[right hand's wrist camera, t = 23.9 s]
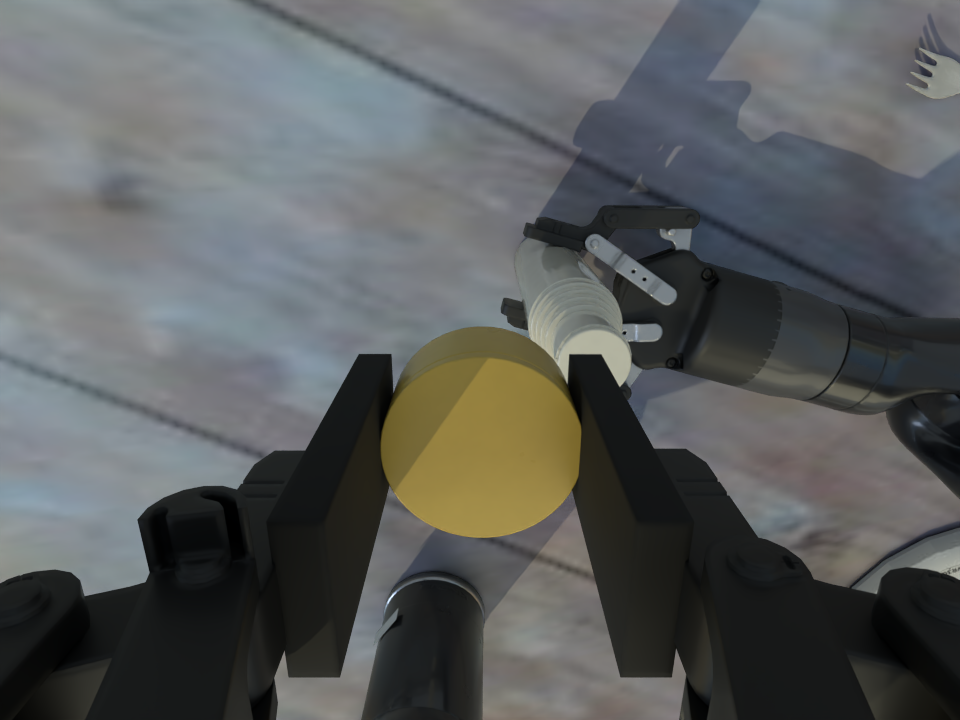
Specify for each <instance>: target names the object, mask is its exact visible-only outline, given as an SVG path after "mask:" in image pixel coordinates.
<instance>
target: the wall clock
mask: <svg viewBox="0 0 960 720" xmlns="http://www.w3.org/2000/svg"><path fill="white" fill-rule="evenodd" d="M903 567H911V568H921V569H929V570H933V571H938V572H939V573H944V574H947V575H950V576H953V577H955V578H957V579H959V580H960V528H956V529H953V530H950V531H947V532H943V533H940V534H937V535H934V536H931V537H927V538H925V539H923V540H921V541H919V542H917V543H916V544H914V545H912V546H910V547H908V548H906V549H904V550H903V551H901V552H899V553H897V554H895V555H893V556H891V557H890V558H888V559H886V560H884V561H883V562H882V563H881V564H879V565H878V566H877V567H876V568H875V569H873V570H872V571H871V572H870V573H869V574H867V575H866V576H865V577H864V578H863V579H861V580H860V581H859V582H858V583H857V584H855V585H854V586H853V587H852V588H851V589H856V590H861V591H866V592H870V593H875V594H877V591H878V587H879V584H880V580H881V577H883V576H884V575H885V574H886V573H887V572H888V571H889V570H892V569H898V568H903Z"/></svg>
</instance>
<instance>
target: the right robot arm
mask: <svg viewBox="0 0 960 720" xmlns="http://www.w3.org/2000/svg"><path fill="white" fill-rule="evenodd" d="M567 385H568V388H569V391H570V394H571V396H572V399H573V402H574V405H575V408H576V411H577V414H578V417H579V420H580V423H581V445H580V461H579V475H578V479H577V481H576V483H575V485H574V487H573V489H572V492H573V495H574V499H575V503H576V507H577V511H578V515H579V519H580V523H581V526H582V530H583V534H584V538H585V542H586V546H587V550H588V553H589V557H590V561H591V565H592V569H593V573H594V577H595V580H596V584H597V588H598V592H599V596H600V600H601V604H602V608H603V611H604V615H605V619H606V623H607V627H608V631H609V635H610V638H611V642H612V646H613V650H614V654H615V658H616V662H617V665H618V669H619V673H620V677H672V672H673V665H674V658H675V652H676V649H677V651H678V654H679V657H680V659H681V662H682V664H683V667H684V670H685V672H686V680H685V686H684V693H683V699H682V705H681V712H680V718H679V720H960V580H959V579H957V578H955V577H953V576H950V575H947V574H944V573H939V572H938V571H933V570H929V569H921V568H911V567H903V568H898V569H892V570H889V571H888V572H887V573H886V574H885V575H884V576H883V577H881V580H880V584H879V587H878V591H877V594H875V593H870V592H866V591H861V590H856V589H851V588H847V587H842V586H837V585H832V584H829V583H825V582H821V581H818V580H814V579H813V577H812V575H811V572H810V571H809V570H808V568H807V567H806V565H805V564H804V563H803V561H802V560H801V559H800V558H799V557H797V556H796V555H794V554H793V553H792V552H790V551H789V550H788V549H786V548H785V547H782V546H780V545H778V544H775V543H773V542H771V541H769V540H766V539H762V538H758V537H757V535H756V534H755V532H754V531H753V529H752V528H751V527H750V525H749V524H748V522H747V521H746V519H745V518H744V516H743V515H742V514H741V512H740V511H739V509H738V508H737V506H736V505H735V503H734V502H733V500H732V499H731V498H730V496H727V492H726V490H725V489H724V487H723V486H722V485H721V483H720V482H718V481H717V477H716V476H715V474H714V473H713V472H712V470H711V469H710V467H709V466H708V464H707V463H706V462H705V461H703V460H702V459H700V458H699V457H697V456H696V455H694V454H693V453H691V452H690V451H688V450H687V449H654V448H653V446H652V444H651V443H650V441H649V439H648V437H647V435H646V434H645V432H644V430H643V428H642V426H641V425H640V423H639V421H638V419H637V417H636V416H635V414H634V412H633V410H632V408H631V407H630V405H629V403H628V401H627V399H626V398H625V396H624V394H623V392H622V390H621V389H620V387H619V385H618V383H617V381H616V380H615V378H614V376H613V374H612V372H611V370H610V369H609V367H608V365H607V363H606V361H605V360H604V358H603V356H602V354H569V365H568V383H567ZM392 397H393V376H392V357H391V354H359V355H358V357H357V359H356V360H355V362H354V364H353V366H352V368H351V369H350V371H349V373H348V375H347V377H346V378H345V380H344V382H343V384H342V386H341V387H340V389H339V391H338V393H337V395H336V396H335V398H334V400H333V402H332V404H331V406H330V407H329V409H328V411H327V413H326V415H325V416H324V418H323V420H322V422H321V424H320V425H319V427H318V429H317V431H316V433H315V434H314V436H313V438H312V440H311V442H310V443H309V445H308V447H307V449H306V451H274V452H272V453H271V454H269V455H268V456H266V457H265V458H263V459H262V460H260V461H259V462H258V463H256V464H255V465H254V466H253V467H252V469H251V470H250V472H249V473H248V475H247V476H246V478H245V479H244V481H243V484H241V485H240V486H239V488H238V489H237V490H236V489H232V488H228V487H225V486H202V487H197V488H192V489H187V490H183V491H180V492H177V493H175V494H172V495H170V496H167V497H164V498H163V499H161V500H159V501H158V502H156V503H155V504H153V505H152V506H150V507H148V508H147V509H146V510H145V512H144V513H143V514H142V515H141V516H140V517H139V518H138V524H139V528H140V533H141V537H142V541H143V546H144V550H145V554H146V559H147V563H148V567H149V571H150V573H149V576H148V578H147V580H146V582H145V583H141V584H138V585H134V586H131V587H126V588H122V589H117V590H112V591H107V592H103V593H98V594H93V595H89V596H84V593H83V589H82V586H81V582H80V580H79V579H78V578H77V577H76V576H74V575H73V574H72V573H71V572H65V571H60V570H46V571H37V572H31V573H27V574H23V575H21V576H20V575H19V576H16V577H13V578H10V579H8V580H6V581H4V582H2V583H0V720H276V715H277V706H278V701H277V693H276V686H275V680H274V677H275V674H276V671H277V669H278V666H279V663H280V661H281V658H282V655H283V653H284V650H285V656H286V662H287V669H288V676H289V677H340V675H341V671H342V667H343V663H344V659H345V655H346V652H347V648H348V644H349V640H350V636H351V632H352V628H353V625H354V621H355V617H356V613H357V609H358V605H359V601H360V597H361V594H362V590H363V586H364V582H365V578H366V574H367V570H368V567H369V563H370V559H371V555H372V551H373V547H374V543H375V539H376V536H377V532H378V528H379V524H380V520H381V516H382V512H383V509H384V505H385V501H386V497H387V493H388V489H389V483H388V481H387V479H386V476H385V473H384V470H383V467H382V461H381V451H380V439H381V431H382V427H383V424H384V420H385V417H386V414H387V411H388V408H389V405H390V402H391V400H392Z"/></svg>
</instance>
